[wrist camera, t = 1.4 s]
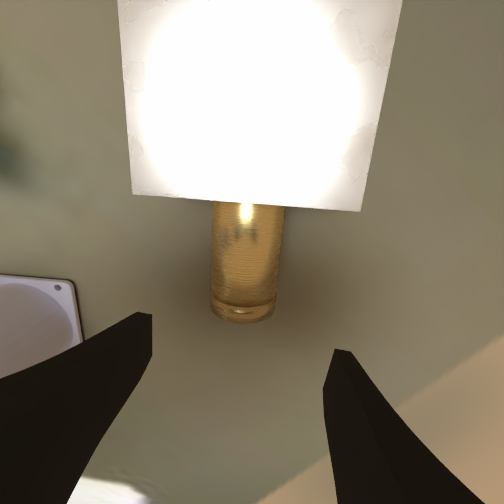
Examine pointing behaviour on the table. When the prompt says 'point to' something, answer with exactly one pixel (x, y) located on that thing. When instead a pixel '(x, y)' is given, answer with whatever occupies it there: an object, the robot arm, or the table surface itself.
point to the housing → (255, 97)
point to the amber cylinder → (245, 260)
